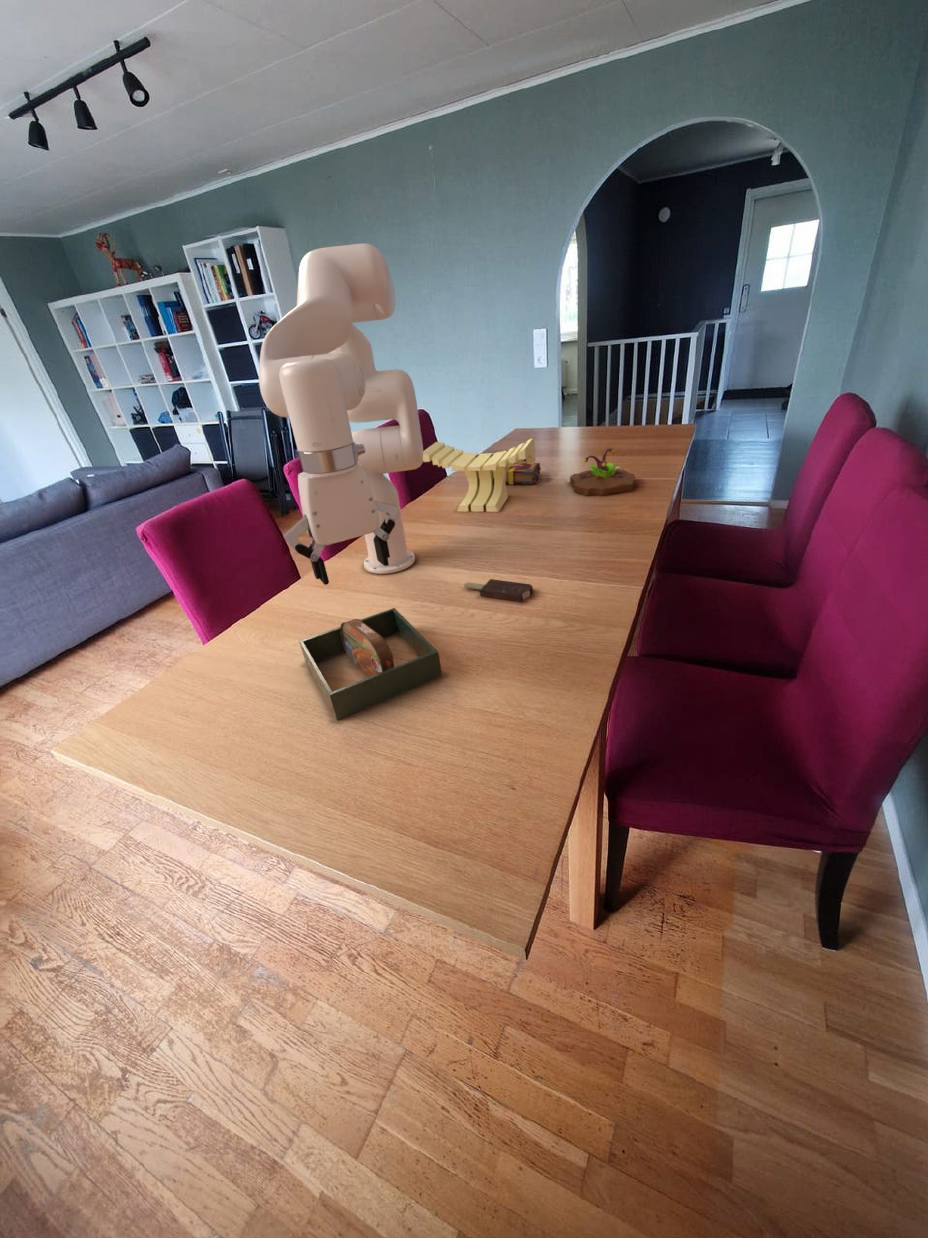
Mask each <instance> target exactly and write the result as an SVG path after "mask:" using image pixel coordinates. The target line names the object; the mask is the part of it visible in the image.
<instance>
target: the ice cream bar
mask: <svg viewBox="0 0 928 1238" xmlns="http://www.w3.org/2000/svg"><path fill="white" fill-rule="evenodd" d="M463 585H464V588H465V589H470V590H477V591H478V590H479V596H480V597H482V598H489V599H495V600H501V601H508V602H514V603H523V602H524V601H525V599H527V598H531V597H532V595H533V592H534V590H533V589H534V588H533V585H532V584H530V583H523V582H516V581H509V580H502V579H493V578H490V579H489V580H488V581H487V582H486V583H485V584H484V583H476V582H465V583H464V584H463Z"/></svg>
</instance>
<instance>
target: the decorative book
mask: <svg viewBox="0 0 928 1238" xmlns="http://www.w3.org/2000/svg"><path fill="white" fill-rule="evenodd" d="M541 470H542V468H541V463H540V462H534V464H533V465H531V464H527V463H526V461H525V462H524V463H523V464H517V462H516V463H515V464H514V465H512V466H510V467H509V468H508V471H507V474H506V480H505V484H508V485H514V484H522V485H534V484H536V485H538V484H539V482H538V481H536V480H537V479H538V478H540V475H541Z"/></svg>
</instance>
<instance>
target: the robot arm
mask: <svg viewBox="0 0 928 1238" xmlns="http://www.w3.org/2000/svg"><path fill="white" fill-rule="evenodd" d="M298 267H299V268H298V278H297V294H296V295H297V296H296V306H295V307H293V309H291V310H290V311H289V312H288V313H286V314H285V315H284V316H283V317H282V318H281V319H279V321H277V322H276V323H275V324H274V325H273V326H272V327H271V328H270V330H269V331H268V332H267V333H266V334H265V336H264V338H263V341H262V342H261V347H260V354H259V362H258V363H259V365H258V385H259V390H260V395H261V397H262V400H263V403H264V404H265V406H266V407H267V408H268V410H269V411H270V412H271V413H273V414H274V415H276V416H278V417H281V418H289V422H290V426H291V429H292V433H293V437H294V441H295V445H296V449H297V453H298V457H299V462H300V465H301V468H302V472H300V473H298V474H297V485H298V494H299V500H300V506H301V512H302V517H301V519H300V520H298V521H297V522H296V523H295V524H294V525H292V526H291V527H290V528H289V529H288V530H286V532H285V533H284V534H283V539H284V540H285V542H286V543H287V544H288V545H290V547H291V548H292V549H294V550H295V552H296V553H297V554H299V555H301V556H302V557H305V558H307V559H309V560H310V564H311V567H312V572H313V575H314V578H315V579H316V580H319V581H320V582H322V584H323V585H324V586H326V585H329V584H330V581H329V575H328V572H327V568H326V564H325V560H324V559H323V558H322V557H321V554H322V553H323V551H324V549H325V547H326V546H330V545H334V544H337V543H341V542H345V541H348V540H351V539H355V538H358V537H359V538H360V537H362V536H363V537H364V540H365V541H364V542H365V546H366V550H367V555H368V556H367V557H366V558H365V559H364V561H363V567H364V569H365V570H366V571H367V572H369V573H372V574H375V575H376V574H378V575H385V574H394V573H398V572H401V571H403V570H407V568H410V567H412V566H413V564H414V563H415V561H416V556H415V553H414V552H413V551H411V550H410V549H408V546H407V540H406V533H405V527H404V522H403V516H402V515H403V514H402V509H401V503H400V497H399V493H398V489H397V487H396V486H395V484H394V483H393V482H392V481H391V479H389V478H388V477H387V476H386V475H385V474H389V473H398V472H406V471H413V470H417V469H418V468H420V467H421V466H422V465H423V463H424V462H423V451H424V444H423V437H422V431H421V430H422V429H421V424H420V417H419V409H418V402H417V396H416V391H415V387H414V383H413V380H412V378H411V376H410V375H409V373H408V372H407V371H405V370H403V369H397V368H396V369H394V368H393V369H385V370H377V369H376V365H375V360H374V354H373V347H372V345H371V342H370V341H369V339H368V337H366V335H365V334H364V333H363V332H362V331H361V329H359V328H358V327H357V326H356V325H355V323H364V322H373V321H381V320H386V319H389V318H391V317H392V316H393V314H394V312H395V309H396V303H397V302H396V301H397V299H396V289H395V285H394V281H393V277H392V275H391V272H390V268H389V265H388V264H387V260H386V258H385V257H384V255H383V254H382V252H381V251H380V250H379V249H378V248H377V247H376V246H374V245H372V244H370V243H353V244H344V245H336V246H335V245H334V246H327V247H320V248H315V249H313V250H310V251H309V252H307V253H306V254H305V255H304V256H303V258H302V259H301V261H300V263H299V266H298ZM389 420H391V421H392V420H394V421H396V422H397V423H398V424H399V425H392V426H383V427H381V426H380V427H372V428H363V429H357V430H354V431H352V428H351V423H354V424H355V423H356V424H357V423H359V424H360V423H372V422H382V421H389ZM350 422H351V423H350ZM305 532H306V534H307V535H308V537H309V538H311V540H310V541H309V543H308V545H305V544H303V543H301V542H300V541H299V537H300V536H302V535H303V533H305Z"/></svg>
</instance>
